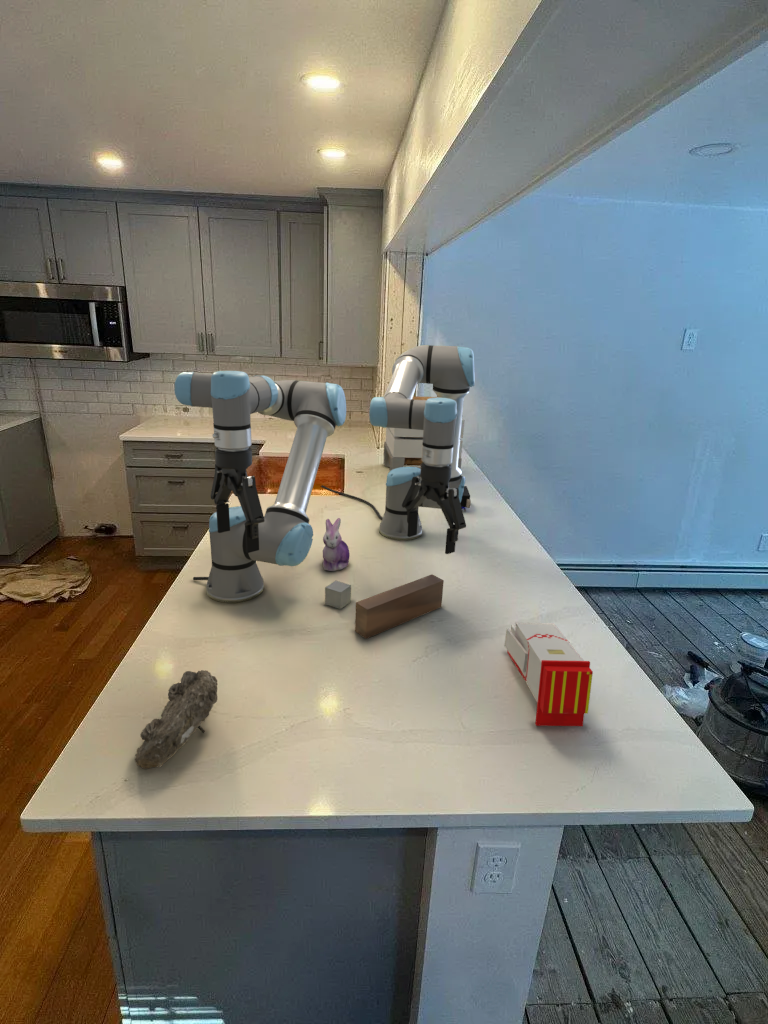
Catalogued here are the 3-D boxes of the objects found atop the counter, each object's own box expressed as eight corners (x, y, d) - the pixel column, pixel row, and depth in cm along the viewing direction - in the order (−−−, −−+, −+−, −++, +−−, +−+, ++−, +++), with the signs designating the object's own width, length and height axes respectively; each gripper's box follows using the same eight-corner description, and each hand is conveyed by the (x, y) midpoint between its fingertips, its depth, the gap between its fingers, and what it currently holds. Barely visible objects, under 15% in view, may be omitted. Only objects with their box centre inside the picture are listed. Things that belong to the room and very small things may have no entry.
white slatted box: (382, 463, 289) (386, 382, 275) (445, 464, 293) (451, 384, 279) (390, 482, 257) (394, 392, 243) (460, 483, 261) (468, 394, 247)
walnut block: (354, 631, 139) (355, 602, 136) (429, 600, 155) (432, 574, 152) (366, 639, 136) (367, 609, 133) (441, 607, 152) (443, 580, 149)
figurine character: (470, 516, 223) (465, 500, 237) (473, 499, 220) (467, 484, 233) (453, 516, 223) (449, 500, 236) (455, 498, 220) (451, 483, 233)
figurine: (327, 574, 167) (327, 527, 162) (315, 561, 175) (315, 515, 170) (356, 569, 171) (357, 523, 166) (343, 556, 179) (343, 511, 174)
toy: (550, 607, 134) (601, 667, 105) (545, 659, 137) (594, 732, 108) (499, 606, 134) (537, 666, 104) (495, 659, 137) (530, 731, 107)
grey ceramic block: (324, 604, 151) (325, 587, 149) (335, 596, 155) (335, 580, 153) (340, 609, 149) (340, 592, 147) (350, 601, 153) (351, 584, 151)
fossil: (167, 671, 114) (219, 638, 109) (200, 702, 116) (252, 671, 112) (109, 762, 94) (169, 727, 89) (151, 796, 97) (212, 765, 92)
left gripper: (191, 437, 125) (197, 527, 132) (245, 463, 108) (249, 564, 115) (223, 434, 130) (227, 520, 137) (279, 457, 112) (281, 555, 119)
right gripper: (391, 454, 144) (387, 531, 151) (464, 477, 126) (456, 564, 134) (412, 450, 149) (407, 526, 156) (486, 472, 131) (477, 556, 138)
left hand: (237, 541), depth 126 cm, fingers open, 13 cm apart
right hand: (430, 543), depth 145 cm, fingers open, 13 cm apart
